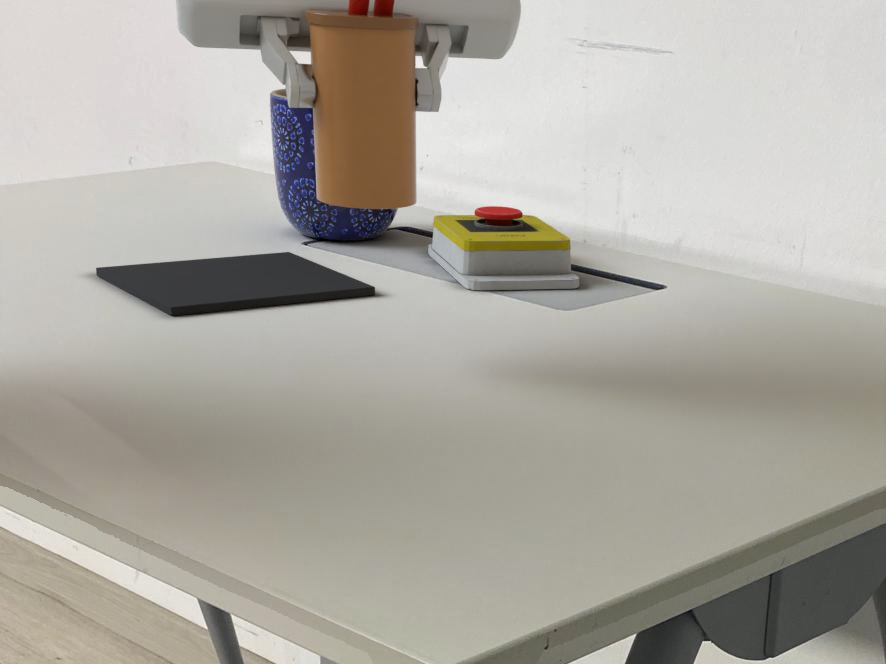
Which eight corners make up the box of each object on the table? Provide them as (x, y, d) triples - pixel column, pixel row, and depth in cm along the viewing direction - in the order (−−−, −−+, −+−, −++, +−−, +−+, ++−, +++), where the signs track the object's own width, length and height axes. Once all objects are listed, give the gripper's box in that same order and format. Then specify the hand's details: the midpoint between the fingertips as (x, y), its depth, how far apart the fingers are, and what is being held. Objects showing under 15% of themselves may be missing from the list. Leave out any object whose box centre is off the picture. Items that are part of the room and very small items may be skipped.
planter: (255, 227, 127) (245, 88, 121) (361, 219, 133) (356, 86, 127) (318, 250, 120) (310, 103, 114) (426, 240, 126) (425, 100, 120)
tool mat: (171, 316, 98) (170, 307, 98) (96, 275, 108) (95, 267, 107) (375, 294, 107) (375, 286, 107) (289, 259, 116) (289, 251, 116)
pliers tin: (351, 214, 82) (340, -144, 73) (294, 194, 87) (277, -145, 78) (446, 208, 86) (446, -135, 77) (386, 189, 91) (380, -136, 82)
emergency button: (531, 196, 122) (585, 229, 110) (529, 250, 125) (582, 288, 113) (424, 196, 120) (468, 230, 108) (425, 251, 122) (468, 290, 110)
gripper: (152, -155, 80) (182, 56, 77) (505, -127, 86) (544, 70, 84) (156, -65, 86) (183, 135, 83) (485, -44, 92) (521, 143, 89)
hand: (367, 103), depth 83 cm, fingers closed on pliers tin, 6 cm apart
